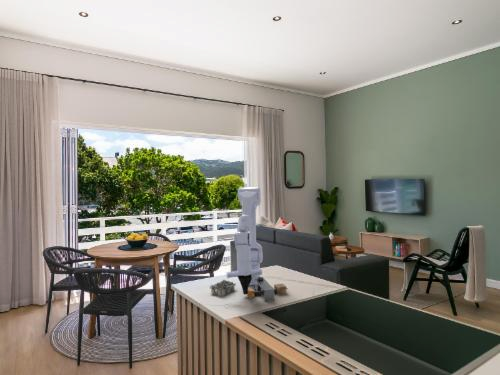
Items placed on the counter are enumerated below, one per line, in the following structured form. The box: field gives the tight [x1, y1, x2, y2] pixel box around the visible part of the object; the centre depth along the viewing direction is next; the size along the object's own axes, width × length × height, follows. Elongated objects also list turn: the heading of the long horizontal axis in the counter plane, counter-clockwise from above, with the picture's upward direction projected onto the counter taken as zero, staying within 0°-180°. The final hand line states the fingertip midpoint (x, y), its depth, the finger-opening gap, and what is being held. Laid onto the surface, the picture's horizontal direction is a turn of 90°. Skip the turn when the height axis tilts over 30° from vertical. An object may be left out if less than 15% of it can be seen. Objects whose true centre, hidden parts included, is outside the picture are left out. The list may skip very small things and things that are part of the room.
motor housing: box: [254, 276, 275, 302], centre depth 142 cm, size 16×4×5 cm, turn 13°
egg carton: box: [209, 279, 237, 297], centre depth 148 cm, size 11×8×4 cm
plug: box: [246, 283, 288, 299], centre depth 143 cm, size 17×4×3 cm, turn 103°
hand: (245, 293), depth 141 cm, fingers closed
